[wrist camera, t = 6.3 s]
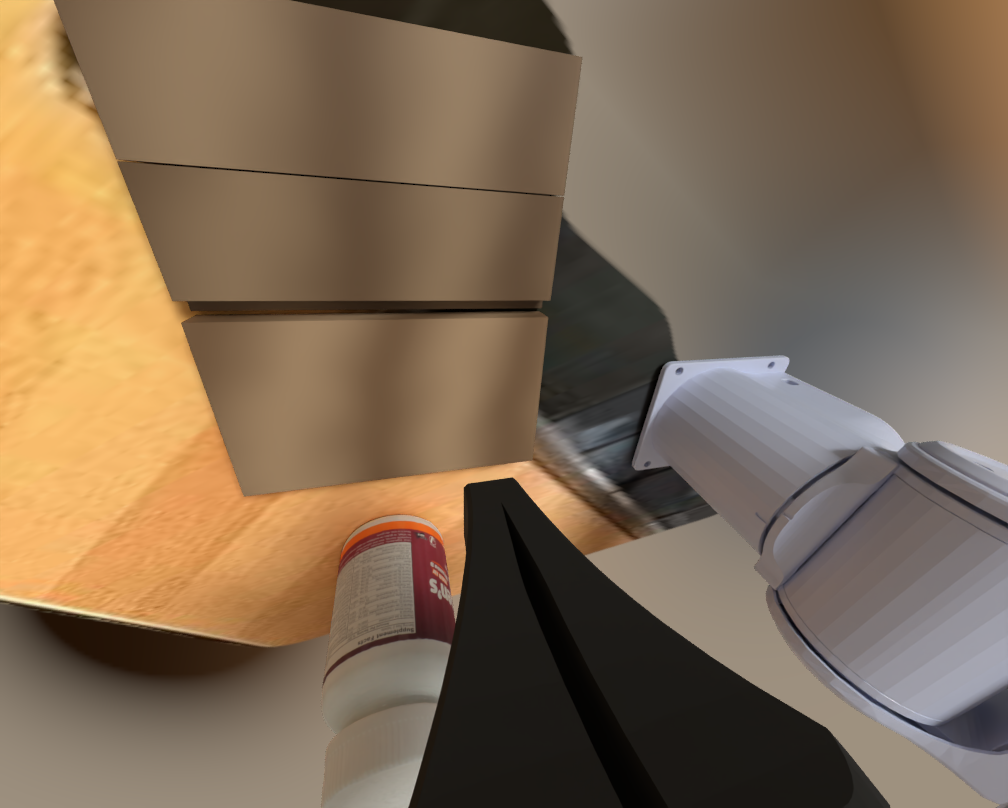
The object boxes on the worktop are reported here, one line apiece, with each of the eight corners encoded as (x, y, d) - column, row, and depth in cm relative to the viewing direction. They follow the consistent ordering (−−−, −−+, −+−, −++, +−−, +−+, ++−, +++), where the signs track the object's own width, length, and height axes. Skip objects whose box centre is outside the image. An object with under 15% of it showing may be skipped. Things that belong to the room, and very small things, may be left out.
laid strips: (567, 67, 13) (582, 57, 12) (539, 306, 17) (548, 313, 16) (71, -24, 9) (34, -49, 8) (194, 308, 14) (179, 318, 13)
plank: (539, 311, 17) (548, 317, 16) (525, 448, 21) (532, 460, 20) (196, 314, 14) (180, 322, 13) (252, 479, 17) (243, 496, 16)
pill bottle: (452, 556, 25) (490, 777, 16) (363, 587, 24) (347, 840, 15) (427, 497, 22) (456, 734, 12) (323, 530, 21) (269, 812, 11)
